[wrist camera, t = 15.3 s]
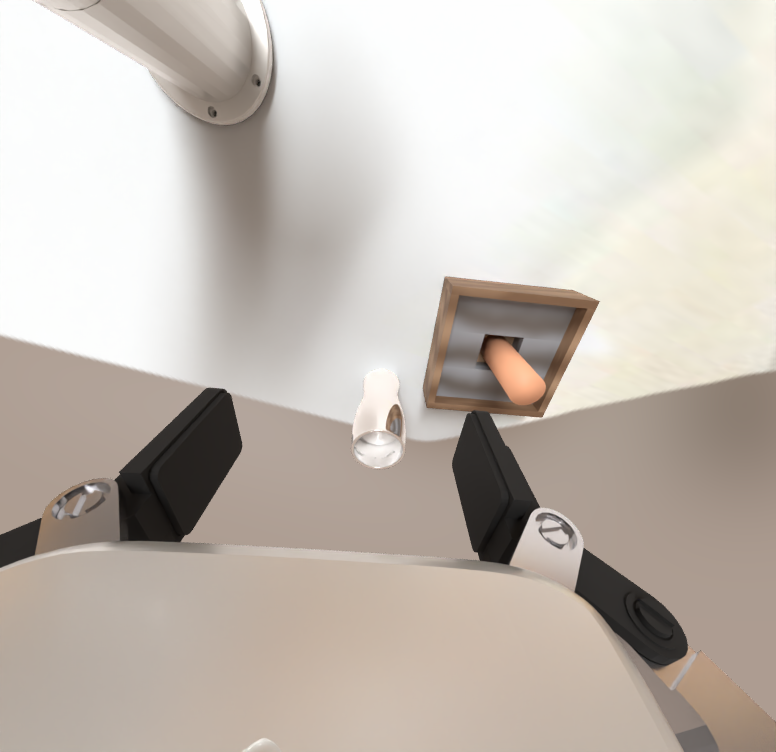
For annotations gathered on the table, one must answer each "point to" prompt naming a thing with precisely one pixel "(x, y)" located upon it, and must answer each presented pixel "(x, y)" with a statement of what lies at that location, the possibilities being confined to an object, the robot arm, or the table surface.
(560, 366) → the bore box
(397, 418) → the beer glass
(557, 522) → the robot arm
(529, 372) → the peg
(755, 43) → the table surface
